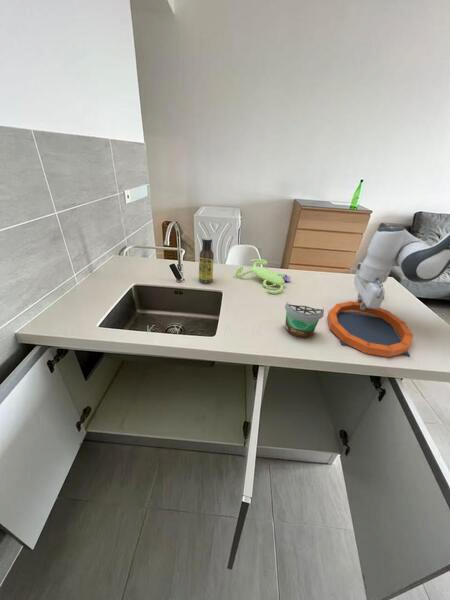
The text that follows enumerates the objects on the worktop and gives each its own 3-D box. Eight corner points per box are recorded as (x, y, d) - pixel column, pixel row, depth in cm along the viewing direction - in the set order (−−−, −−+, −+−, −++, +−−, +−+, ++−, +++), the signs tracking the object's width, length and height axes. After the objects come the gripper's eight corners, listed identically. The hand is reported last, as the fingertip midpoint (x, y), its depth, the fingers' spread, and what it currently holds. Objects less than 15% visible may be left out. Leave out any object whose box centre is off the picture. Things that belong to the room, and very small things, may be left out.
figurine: (255, 265, 128) (257, 255, 125) (299, 284, 112) (301, 273, 109) (230, 274, 117) (231, 263, 115) (274, 296, 101) (276, 284, 98)
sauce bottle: (197, 283, 108) (196, 239, 98) (201, 277, 113) (201, 235, 103) (211, 285, 107) (212, 241, 97) (214, 279, 112) (215, 236, 102)
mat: (386, 319, 91) (386, 318, 91) (409, 356, 74) (410, 355, 74) (330, 311, 94) (331, 310, 94) (341, 345, 77) (341, 344, 77)
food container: (279, 336, 79) (285, 311, 74) (280, 325, 84) (285, 301, 79) (319, 343, 77) (327, 318, 72) (317, 332, 82) (325, 307, 77)
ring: (392, 312, 92) (395, 307, 90) (422, 362, 72) (427, 356, 70) (324, 303, 96) (325, 297, 94) (333, 348, 75) (336, 341, 74)
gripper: (394, 288, 75) (377, 323, 83) (374, 263, 93) (361, 294, 100) (373, 285, 76) (358, 320, 84) (356, 261, 94) (345, 292, 101)
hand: (360, 306), depth 92 cm, fingers closed on ring, 2 cm apart
